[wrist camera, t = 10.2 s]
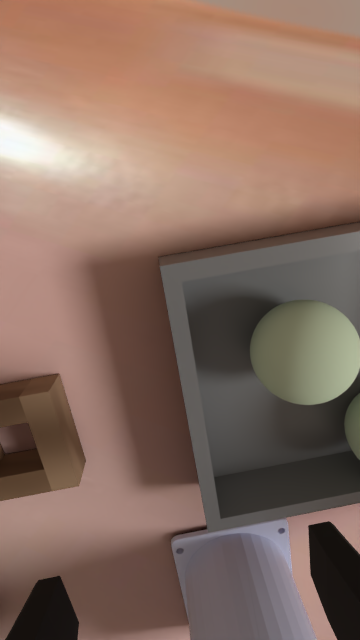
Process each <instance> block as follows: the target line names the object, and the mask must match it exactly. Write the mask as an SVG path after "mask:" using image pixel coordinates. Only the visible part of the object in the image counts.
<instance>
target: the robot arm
mask: <svg viewBox="0 0 360 640" xmlns="http://www.w3.org/2000/svg"><path fill="white" fill-rule="evenodd" d="M308 527H309V548H310V569H311V576H312V579H313V582H314V584H315V587H316V590H317V592H318V595H319V598H320V600H321V603H322V606H323V608H324V611H325V613H326V616H327V618H328V621H329V623H330V625H331V627H332V629H333V631H334V633H335V636H336V638H337V640H360V554H359V553H358V552H357V551H356V550H355V549H354V548H353V547H352V545H351V544H350V543H349V542H348V541H347V540H346V539H345V537H344V536H343V535H342V534H341V533H340V532H339V531H338V529H337V528H336V527H335V526H334V525H333V524H332V523H331V522H329V521H328V522H323V523H319V524H314V525H309V526H308ZM171 547H172V552H173V556H174V560H175V565H176V569H177V573H178V578H179V582H180V586H181V591H182V595H183V599H184V604H185V608H186V612H187V617H188V621H189V629H190V640H317V638H316V636H315V633H314V630H313V628H312V625H311V623H310V620H309V618H308V615H307V612H306V610H305V607H304V605H303V602H302V600H301V597H300V595H299V592H298V589H297V587H296V584H295V582H294V579H293V577H292V565H291V553H290V541H289V529H288V522H287V519H286V518H281V519H276V520H271V521H266V522H261V523H256V524H251V525H246V526H240V527H235V528H230V529H225V530H220V531H215V532H210V533H208V529H206V530H201V531H196V532H191V533H186V534H181V535H176V536H174V537H173V538H172V539H171ZM78 627H79V622H78V619H77V617H76V614H75V612H74V609H73V607H72V604H71V602H70V599H69V597H68V594H67V592H66V589H65V587H64V584H63V582H62V580H61V577H60V576H57V577H52V578H47V579H42V580H38V582H37V583H36V584H35V586H34V588H33V590H32V592H31V594H30V596H29V597H28V599H27V601H26V603H25V605H24V607H23V609H22V610H21V612H20V614H19V616H18V618H17V620H16V621H15V623H14V625H13V627H12V629H11V631H10V632H9V634H8V636H7V638H6V640H77V638H78Z"/></svg>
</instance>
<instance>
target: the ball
mask: <svg viewBox="0 0 360 640" xmlns="http://www.w3.org/2000/svg"><path fill="white" fill-rule="evenodd" d="M344 427H345V434H346V438H347V441H348V443H349V445H350V447H351V449H352V451H353V452H354V454H355V455H356V456H357V458H358V459H359V460H360V393H359V394H358V395H357V396H356V397H355V398H354V399H353V400H352V402H351V403H350V405H349V406H348V409H347V411H346V414H345V420H344Z"/></svg>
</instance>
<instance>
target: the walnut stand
mask: <svg viewBox="0 0 360 640" xmlns="http://www.w3.org/2000/svg"><path fill="white" fill-rule="evenodd" d="M27 422H28V424H29V427H30V430H31V433H32V436H33V438H34V441H35V444H36V447H37V449H32V450H27V451H22V452H17V453H11V454H6V455H5V454H4V451H3V449H2V446H1V444H0V501H3V500H9V499H14V498H19V497H24V496H29V495H35V494H40V493H45V492H50V491H55V490H61V489H66V488H71V487H76V486H79V484H80V480H81V477H82V473H83V470H84V466H85V462H86V460H85V456H84V453H83V450H82V447H81V443H80V440H79V437H78V433H77V430H76V427H75V423H74V420H73V417H72V414H71V410H70V407H69V404H68V400H67V397H66V394H65V391H64V387H63V384H62V381H61V377H60V374H55V375H50V376H44V377H39V378H33V379H28V380H22V381H17V382H11V383H6V384H0V428H1V427H6V426H11V425H17V424H22V423H27Z"/></svg>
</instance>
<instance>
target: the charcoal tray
mask: <svg viewBox="0 0 360 640" xmlns="http://www.w3.org/2000/svg"><path fill="white" fill-rule="evenodd" d="M158 258H159V265H160V271H161V276H162V282H163V287H164V293H165V298H166V304H167V309H168V315H169V320H170V326H171V331H172V337H173V342H174V348H175V353H176V359H177V364H178V370H179V375H180V381H181V386H182V392H183V397H184V403H185V408H186V414H187V419H188V425H189V430H190V436H191V441H192V447H193V452H194V458H195V463H196V469H197V474H198V480H199V485H200V491H201V496H202V502H203V507H204V513H205V518H206V524H207V529H208V533H210V532H215V531H220V530H225V529H230V528H235V527H240V526H246V525H251V524H256V523H261V522H266V521H271V520H276V519H281V518H286V517H291V516H296V515H301V514H306V513H311V512H316V511H321V510H326V509H331V508H336V507H341V506H346V505H351V504H356V503H360V460H359V459H358V458H357V456H356V455H355V454H354V452H353V451H352V449H351V447H350V445H349V443H348V441H347V438H346V434H345V427H344V420H345V414H346V411H347V409H348V406H349V405H350V403H351V402H352V400H353V399H354V398H355V397H356V396H357V395H358V394H359V393H360V369H359V372H358V374H357V377H356V378H355V380H354V382H353V383H352V384H351V386H350V387H349V388H348V389H347V390H346V391H345V392H343V393H342V394H341V395H339V396H338V397H336V398H334V399H332V400H330V401H328V402H324V403H320V404H315V405H302V404H295V403H291V402H288V401H285V400H283V399H281V398H279V397H277V396H276V395H274V394H273V393H271V392H270V391H269V390H268V389H267V388H266V387H265V386H264V385H263V384H262V383H261V381H260V380H259V379H258V377H257V376H256V373H255V371H254V369H253V366H252V363H251V358H250V342H251V338H252V335H253V332H254V330H255V328H256V326H257V324H258V323H259V321H260V320H261V319H262V318H263V317H264V315H266V314H267V313H268V312H269V311H270V310H272V309H273V308H275V307H276V306H278V305H280V304H283V303H286V302H289V301H293V300H315V301H319V302H323V303H326V304H328V305H330V306H332V307H334V308H336V309H337V310H339V311H340V312H341V313H343V314H344V315H345V316H346V317H347V318H348V319H349V321H350V322H351V323H352V324H353V326H354V327H355V329H356V331H357V333H358V336H359V338H360V222H355V223H350V224H344V225H338V226H332V227H327V228H321V229H315V230H310V231H304V232H298V233H292V234H287V235H281V236H275V237H270V238H264V239H258V240H252V241H247V242H241V243H235V244H229V245H224V246H218V247H212V248H207V249H201V250H195V251H189V252H184V253H178V254H172V255H167V256H161V257H158Z"/></svg>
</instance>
